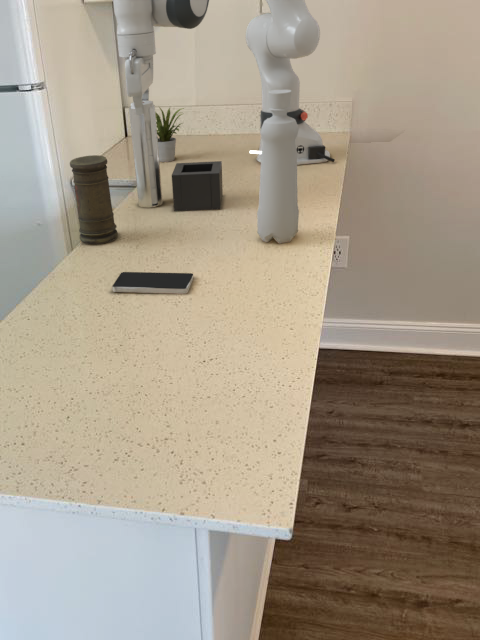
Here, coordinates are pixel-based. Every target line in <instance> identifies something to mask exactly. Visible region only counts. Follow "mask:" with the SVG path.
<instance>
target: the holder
mask: <svg viewBox="0 0 480 640" xmlns="http://www.w3.org/2000/svg"><path fill="white" fill-rule="evenodd" d="M171 187H172V201H173V203H172V204H173V211H174V212H189V211H212V210H214V211H215V210H216V211H217V210H222V209H221V208H222V202H223V196H224V195H223V193H224V191H223V162H222V160H218V161H195V162H192V161H191V162H176V164H175V166H174V168H173V172H172V173H171Z"/></svg>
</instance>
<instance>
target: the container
mask: <svg viewBox="0 0 480 640" xmlns="http://www.w3.org/2000/svg"><path fill="white" fill-rule="evenodd" d="M107 164H108V158H107V157H106V156H105V155H98V154H97V155H95V154H93V155H85V156H83V155H82V156H79V157H75V158H73V159H71V160H70V161H69V166H70V168H71V172H72V177H73V184H74V191H75V192H74V193H75V199H76V205H77V212H78V221H79V229H78V232H79V233H80V234H79V240H80V242H81V243H82V244H85V245H93V246H94V245H103V244H108V243H111V242H113V241H114V240H116V239H117V238H118V235H119V232H118V230H117V228H118V227H117V224H116V222H115V218H114V217H115V216H114V215H115V214H114V211H113V206H112V199H111V198H112V197H111V190H110V183H109V181H110V180H109V175H108V170H107V169H108V166H107Z"/></svg>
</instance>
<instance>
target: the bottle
mask: <svg viewBox="0 0 480 640" xmlns="http://www.w3.org/2000/svg"><path fill="white" fill-rule="evenodd" d="M291 92H292V91H291V90H273V91H269V103H270V108H269V110H271V112H272V114H273V116H272V117H270V118H268V119H266V120H265V121H264V123H263V125H262V127H261V129H259V133H260V139H261V138H262V140H263V142H264V143H263V148H262V153H261V162H260V170H259V171H260V172H259V192H258V193H259V194H258V197H259V198H258V207H257V208H258V209H257V211H256V219H257V220H256V221H257V223H256V225H257V226H256V227H257V228H256V229H257V231H256V232H257V233H256V234H257V235H258V236H259V238H260V239H261V241H262V242H264V243H269V242H272V240H273V239H274V240H275V241H276V242H277V243H278V244H286V243H290V242H291V241H292V239H294V238H295V236H296V234H297V233H298V231H299V215H300V209H299V204H298V201H299V200H298V165H297V150H296V144H295V139H296V137H297V135H298V131H299V127H298V125H297V122H296V120H295V119H294V118H291V117H289V116H287V112H288V110H289V109H291V107H290V100H291Z"/></svg>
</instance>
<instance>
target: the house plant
mask: <svg viewBox="0 0 480 640" xmlns="http://www.w3.org/2000/svg"><path fill="white" fill-rule="evenodd" d="M158 108H159V110H160V112H161V116H160V115H159V114H158V113H157V111H155V114H156V127H157V139H158V151H159V163H167V162H168V163H169V162H173V161H175V157H176V156H175V155H176V145H177V138H176V137H173V135H174V134H175V135H178V134H177V132H178V133H179V131H180V129H181V125H183V122H180V123H179V124H177V125H175V123H176V122H177V121H178V119H179V118H180V116H182V115H183V112H180V111H181V110H183V109H185V107H182V108H179V109H177V110H176V111H175V112H174V113H173V114H172V116H171V108H170V107H168V108H167V111H166V115H165V113H164V111H163V109H162V108H161V107H160V106H158ZM176 115H177V116H176ZM161 118H162V119H161ZM172 123H173V124H172ZM176 131H177V132H176Z"/></svg>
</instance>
